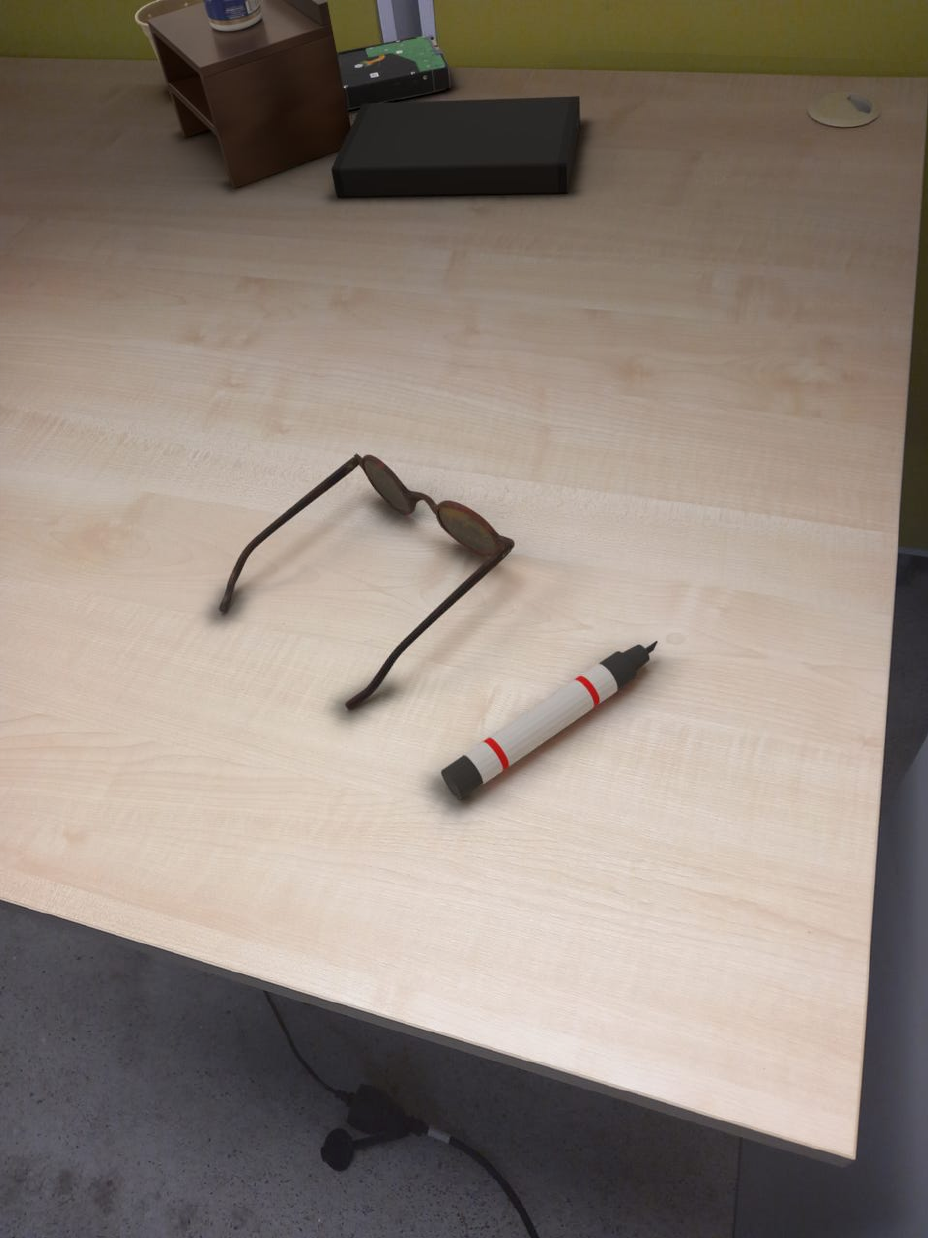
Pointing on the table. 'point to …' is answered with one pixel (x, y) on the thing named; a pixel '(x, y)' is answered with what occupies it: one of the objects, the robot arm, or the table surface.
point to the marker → (544, 720)
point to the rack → (257, 84)
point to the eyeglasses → (449, 514)
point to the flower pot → (160, 13)
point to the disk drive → (393, 71)
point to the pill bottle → (232, 14)
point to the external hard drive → (459, 147)
